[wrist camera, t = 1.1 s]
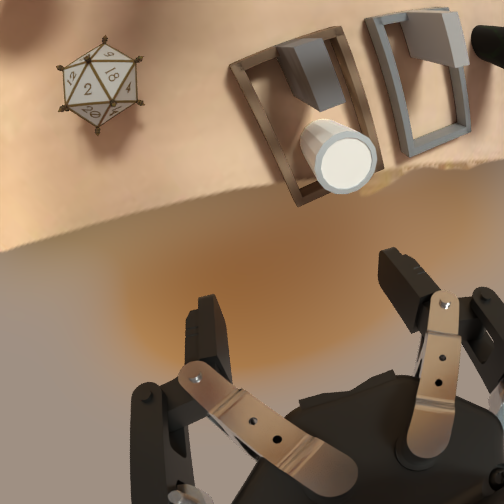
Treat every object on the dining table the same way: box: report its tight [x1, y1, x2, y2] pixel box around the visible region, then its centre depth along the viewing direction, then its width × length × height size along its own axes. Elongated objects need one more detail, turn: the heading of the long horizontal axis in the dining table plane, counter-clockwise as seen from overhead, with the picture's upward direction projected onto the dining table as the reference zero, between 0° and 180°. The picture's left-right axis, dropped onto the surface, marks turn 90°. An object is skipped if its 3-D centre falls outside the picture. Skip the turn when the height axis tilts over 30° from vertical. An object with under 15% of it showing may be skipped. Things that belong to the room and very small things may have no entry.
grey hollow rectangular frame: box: [364, 7, 471, 158], centre depth 25 cm, size 18×12×8 cm, turn 25°
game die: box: [56, 35, 145, 136], centre depth 22 cm, size 9×8×10 cm
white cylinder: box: [300, 119, 377, 194], centre depth 30 cm, size 7×7×7 cm
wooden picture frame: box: [229, 26, 384, 207], centre depth 28 cm, size 18×12×8 cm, turn 25°
